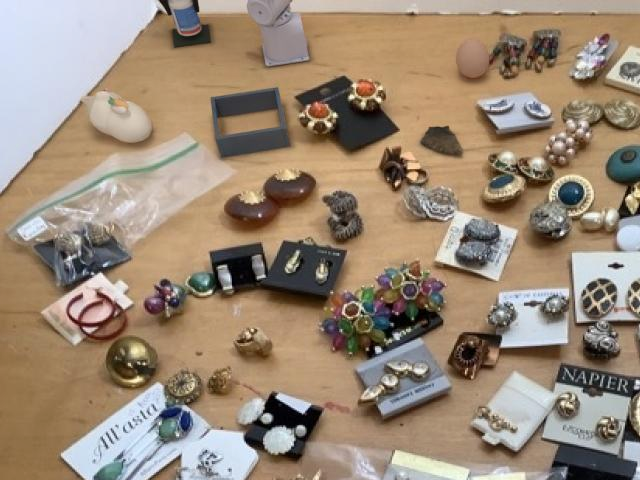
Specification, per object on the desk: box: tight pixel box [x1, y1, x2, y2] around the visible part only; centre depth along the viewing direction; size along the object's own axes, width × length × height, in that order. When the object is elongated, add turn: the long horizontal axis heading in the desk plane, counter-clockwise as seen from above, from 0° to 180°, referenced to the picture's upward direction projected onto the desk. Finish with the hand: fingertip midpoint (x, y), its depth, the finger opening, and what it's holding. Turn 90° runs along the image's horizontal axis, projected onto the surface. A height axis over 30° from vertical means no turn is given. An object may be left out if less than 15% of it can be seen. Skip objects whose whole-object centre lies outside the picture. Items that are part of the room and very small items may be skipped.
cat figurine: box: [80, 87, 153, 144], centre depth 160 cm, size 10×8×15 cm
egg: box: [455, 37, 490, 79], centre depth 173 cm, size 7×7×8 cm
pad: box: [171, 23, 212, 48], centre depth 183 cm, size 8×7×1 cm
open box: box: [209, 86, 291, 159], centre depth 162 cm, size 14×14×4 cm
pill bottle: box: [168, 0, 202, 36], centre depth 178 cm, size 6×5×10 cm
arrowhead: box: [419, 125, 464, 155], centre depth 162 cm, size 7×10×1 cm
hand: (183, 11), depth 178 cm, fingers closed on pill bottle, 5 cm apart
